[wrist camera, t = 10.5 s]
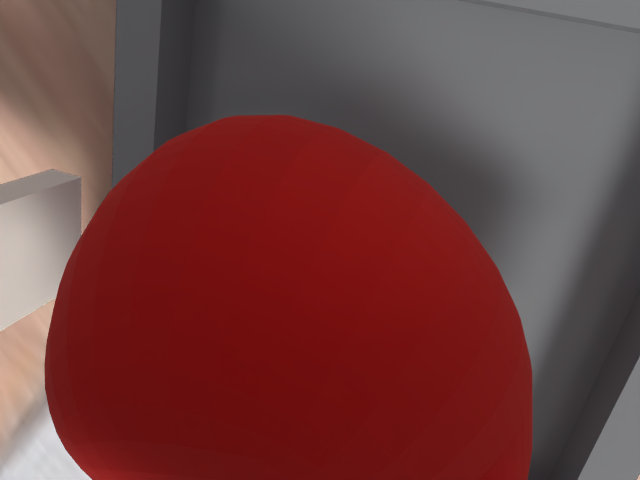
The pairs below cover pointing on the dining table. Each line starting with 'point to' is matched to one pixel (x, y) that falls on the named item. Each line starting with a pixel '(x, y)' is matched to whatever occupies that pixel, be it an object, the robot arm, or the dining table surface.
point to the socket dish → (452, 156)
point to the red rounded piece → (285, 320)
